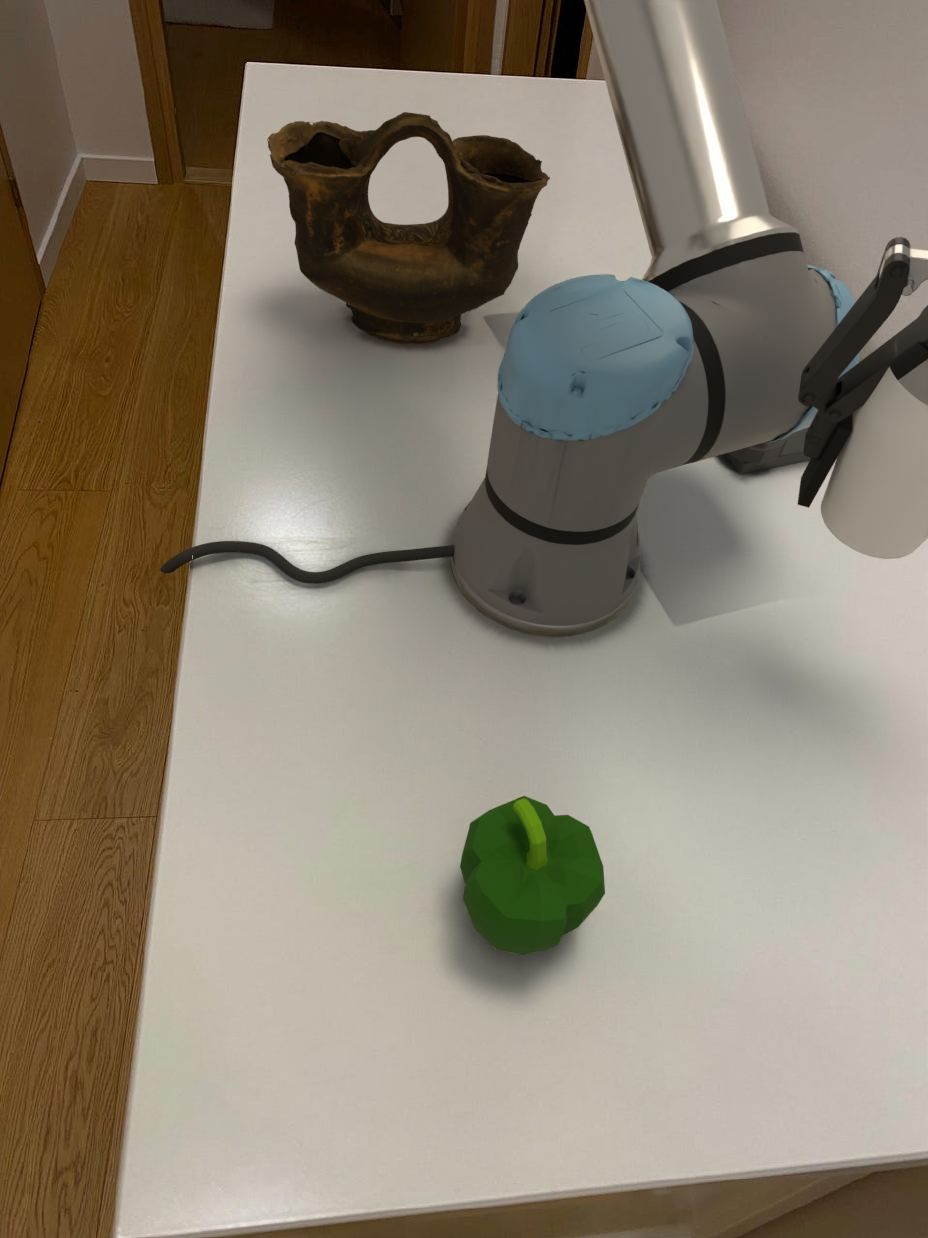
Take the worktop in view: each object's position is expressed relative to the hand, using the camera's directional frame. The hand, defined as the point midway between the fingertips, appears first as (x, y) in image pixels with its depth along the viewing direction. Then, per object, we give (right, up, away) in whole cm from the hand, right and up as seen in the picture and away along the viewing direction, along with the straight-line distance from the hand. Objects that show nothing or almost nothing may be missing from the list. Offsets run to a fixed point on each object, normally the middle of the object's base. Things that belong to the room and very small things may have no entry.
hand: (875, 512), depth 61 cm
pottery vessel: (-33, +24, +35) cm, 54 cm away
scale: (+2, +13, +31) cm, 33 cm away
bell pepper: (-23, -25, -2) cm, 34 cm away
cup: (0, -1, +1) cm, 1 cm away
